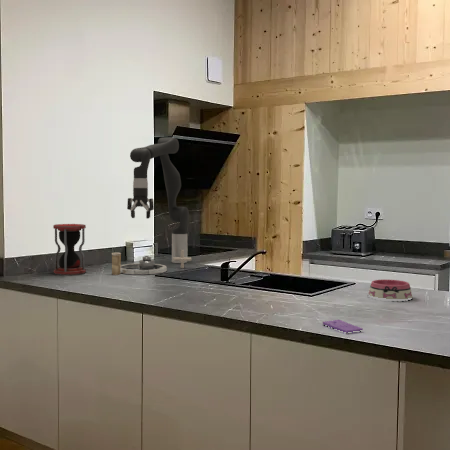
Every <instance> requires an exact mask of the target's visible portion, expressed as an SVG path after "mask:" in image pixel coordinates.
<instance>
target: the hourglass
mask: <svg viewBox="0 0 450 450" xmlns="http://www.w3.org/2000/svg"><path fill="white" fill-rule="evenodd" d="M52 226H53V227H52V228H53V229H54V242H55V245H56V247H57V251H56V253H55V255H54V269H53V274H54V273H55V274H54V275H59V274H61V276H77V275H83V274H86V271H87V270H86V268H85V266H86V265H85V262H86V261H85V254H84V252H83V249H82V248H83V246H84V245H85V240H86V239H85V236H86V235H85V229H86V228H87V227H86V224H82V223H60V224H57V223H55V224H53V225H52ZM81 231H82V232H81ZM81 237H82V238H81ZM58 239H59V241H60V242H61V244H62V245H63V246H64V252H63V253H62V254H61V255H60V257H59V259H58V256H59V254H60V252H61V245H60V244H59V242H58ZM80 239H81V243H80V245H79V246H78V247H79V248H78V251H79V253H80V254H81V257H82V259H81V258H80V256H79V255H78V254H77V252H76V251H75V246H76V245H77V244H78V242H79V241H80ZM58 260H59V261H58ZM81 261H82V264H81ZM58 262H59V263H58ZM58 265H59V267H58ZM81 265H82V266H81Z"/></svg>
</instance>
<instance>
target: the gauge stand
mask: <svg viewBox="0 0 450 450" xmlns="http://www.w3.org/2000/svg"><path fill="white" fill-rule="evenodd" d="M121 254H122V253H121V252H111V275H113V276H119V275H121V273H120V255H121ZM121 256H122V255H121Z"/></svg>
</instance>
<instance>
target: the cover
mask: <svg viewBox="0 0 450 450" xmlns="http://www.w3.org/2000/svg"><path fill="white" fill-rule="evenodd" d="M138 264H139V268H138V270H152V269H155V268H154V264H155V260H152V257H151V256H148V255H145V256H143V257H142V259H141V260H139V261H138Z"/></svg>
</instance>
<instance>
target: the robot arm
mask: <svg viewBox="0 0 450 450" xmlns="http://www.w3.org/2000/svg"><path fill="white" fill-rule="evenodd" d="M179 148H180V144H179V140H178V139H177V138H176V137H173V136H171V137H159V139H158V140H157V143H154V144H149V145H147V146H144V147H136V148H133V149H132V150H131V151H130V154H129V157H130V159H131V161H132V162H135V163H140V165H139V166H136V167H135V166H134V167H133V181H132V182H133V183H132V184H133V185H132V192H133V193H132V194H133V198H132V197H128V198H127V204H126V205H127V210H129V211H130V217H131V219H135V218H136V211H135V210H136V208H138V207H139V208H140V207H141V208H142V207H143V208H144V209H145V213H146V214H145V216H146V217H145V218H146V219H150V218H151V211H154V210H155V208H154V207H155V206H154V198H148V197H149V190H148V189H149V186H148V185H149V183H148V170H149V167H150V166H149V165H150V162H151V160H152V159H155V158H157V157H159V158H160V161H161V166H162V171H163V181H164V184H165V190H166V197H167V204H168V206H167V207H168V215H169V220H170V221H171V222H173V223H179V225H178V226H176V227H173V228H172V229H171V263H173V264H181V262H180V261H173V257H181V250H184V257H188V248H189V247H188V231H189V219H190V213H189V211H190V210H189V209H188V206H187V207H186V206H177V197H178V196H179V195H178V194H179V193H180V190H181V188H182V180H181V175H180V172H179V171H178V170H177V168H176V167H175V165H174V164H173V163H172V161H171V160H170V159H171V158H170V156H169V154H170V155H171V154H176V153H178V151H179ZM132 203H133V204H132ZM185 263H188V261H184V264H185Z"/></svg>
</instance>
